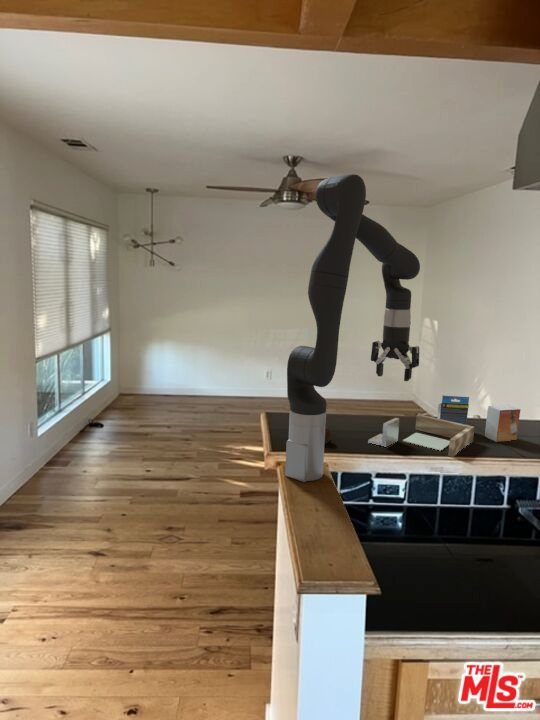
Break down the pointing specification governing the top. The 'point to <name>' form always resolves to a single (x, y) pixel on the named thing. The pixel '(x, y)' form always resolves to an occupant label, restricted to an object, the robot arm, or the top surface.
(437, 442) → the pad
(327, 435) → the bolt
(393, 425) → the angle bracket
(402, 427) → the top surface
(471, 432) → the corner walls
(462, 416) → the label tape box
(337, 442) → the top surface
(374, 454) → the top surface
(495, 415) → the small box
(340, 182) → the robot arm
